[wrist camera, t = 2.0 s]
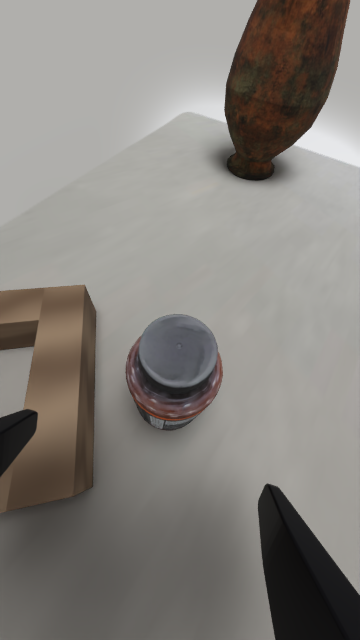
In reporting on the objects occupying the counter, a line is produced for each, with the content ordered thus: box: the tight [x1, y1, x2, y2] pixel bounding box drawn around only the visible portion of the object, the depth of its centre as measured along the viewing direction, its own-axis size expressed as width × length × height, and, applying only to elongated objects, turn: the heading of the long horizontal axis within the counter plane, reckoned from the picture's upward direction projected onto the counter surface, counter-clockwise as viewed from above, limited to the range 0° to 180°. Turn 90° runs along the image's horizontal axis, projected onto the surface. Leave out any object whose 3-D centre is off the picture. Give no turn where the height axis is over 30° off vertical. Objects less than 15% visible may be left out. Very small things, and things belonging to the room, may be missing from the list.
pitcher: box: [224, 0, 350, 180], centre depth 35 cm, size 17×21×30 cm
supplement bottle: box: [126, 314, 223, 430], centre depth 16 cm, size 6×6×11 cm
